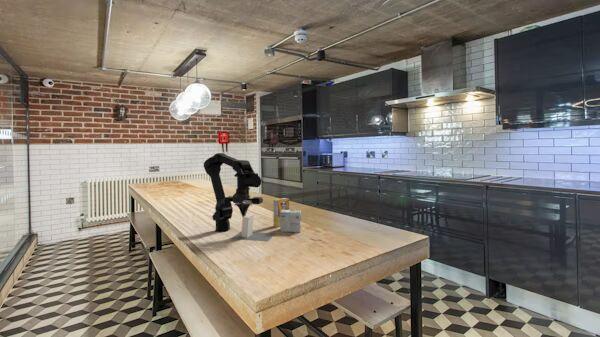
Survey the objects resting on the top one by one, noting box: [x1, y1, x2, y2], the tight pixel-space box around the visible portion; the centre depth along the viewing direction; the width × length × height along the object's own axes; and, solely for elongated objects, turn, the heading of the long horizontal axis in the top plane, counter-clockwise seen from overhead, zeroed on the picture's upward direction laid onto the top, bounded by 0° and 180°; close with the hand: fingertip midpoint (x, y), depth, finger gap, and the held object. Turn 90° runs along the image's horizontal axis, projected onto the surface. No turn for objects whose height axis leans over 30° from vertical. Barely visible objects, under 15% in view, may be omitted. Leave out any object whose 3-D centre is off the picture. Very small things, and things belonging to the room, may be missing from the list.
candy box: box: [272, 197, 290, 228], centre depth 183 cm, size 9×4×15 cm, turn 139°
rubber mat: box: [230, 231, 276, 242], centre depth 162 cm, size 19×14×1 cm
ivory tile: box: [241, 213, 255, 238], centre depth 162 cm, size 3×7×10 cm, turn 168°
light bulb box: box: [279, 209, 302, 233], centre depth 173 cm, size 11×7×11 cm, turn 84°
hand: (243, 217), depth 162 cm, fingers closed
